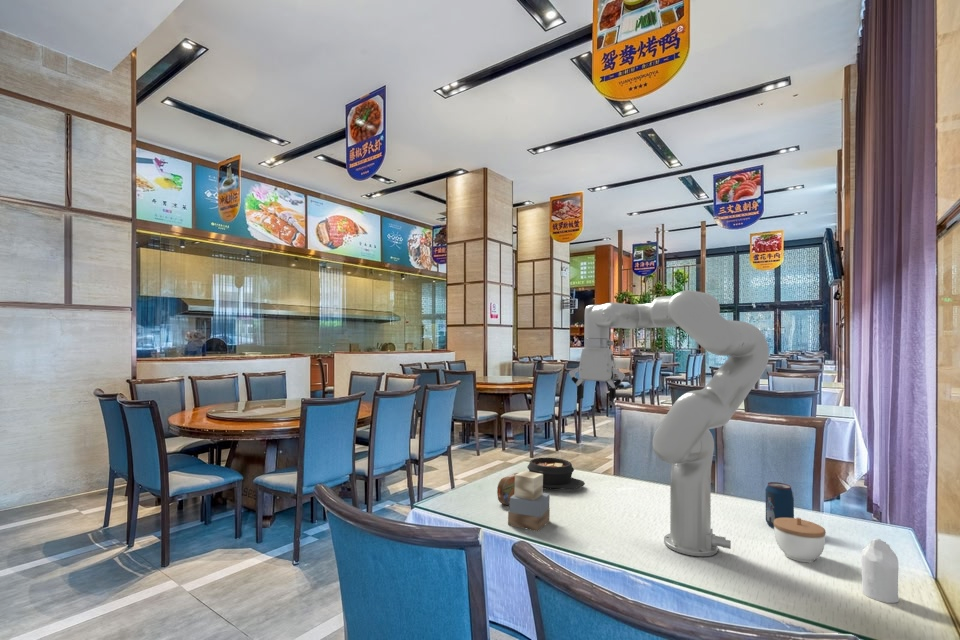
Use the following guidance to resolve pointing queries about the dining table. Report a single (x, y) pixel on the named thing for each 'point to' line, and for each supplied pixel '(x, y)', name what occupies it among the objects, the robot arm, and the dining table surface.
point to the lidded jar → (799, 538)
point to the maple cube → (528, 485)
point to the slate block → (530, 505)
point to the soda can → (779, 502)
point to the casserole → (555, 473)
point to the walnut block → (528, 520)
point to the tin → (506, 489)
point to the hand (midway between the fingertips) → (596, 399)
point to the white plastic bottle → (880, 572)
